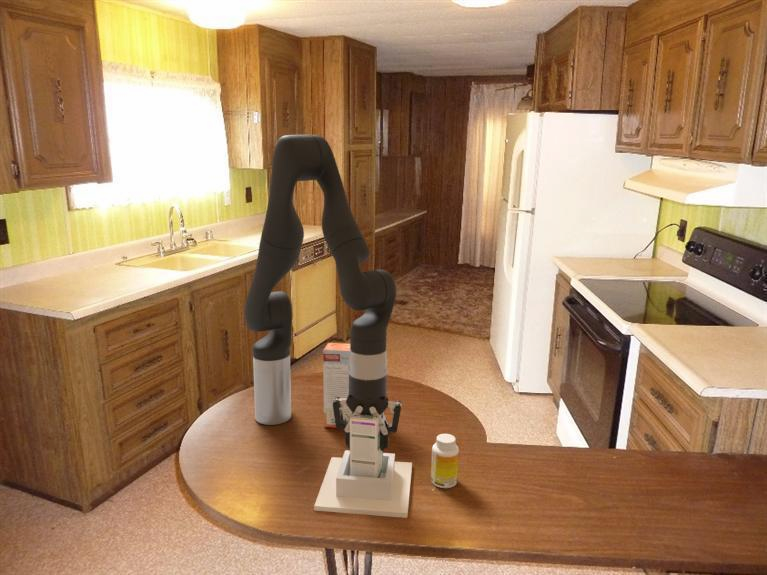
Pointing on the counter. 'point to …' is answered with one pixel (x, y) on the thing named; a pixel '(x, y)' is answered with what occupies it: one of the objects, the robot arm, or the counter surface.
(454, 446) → the supplement bottle
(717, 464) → the counter surface
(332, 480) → the sleeve holder
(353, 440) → the syrup box
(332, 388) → the cracker box
